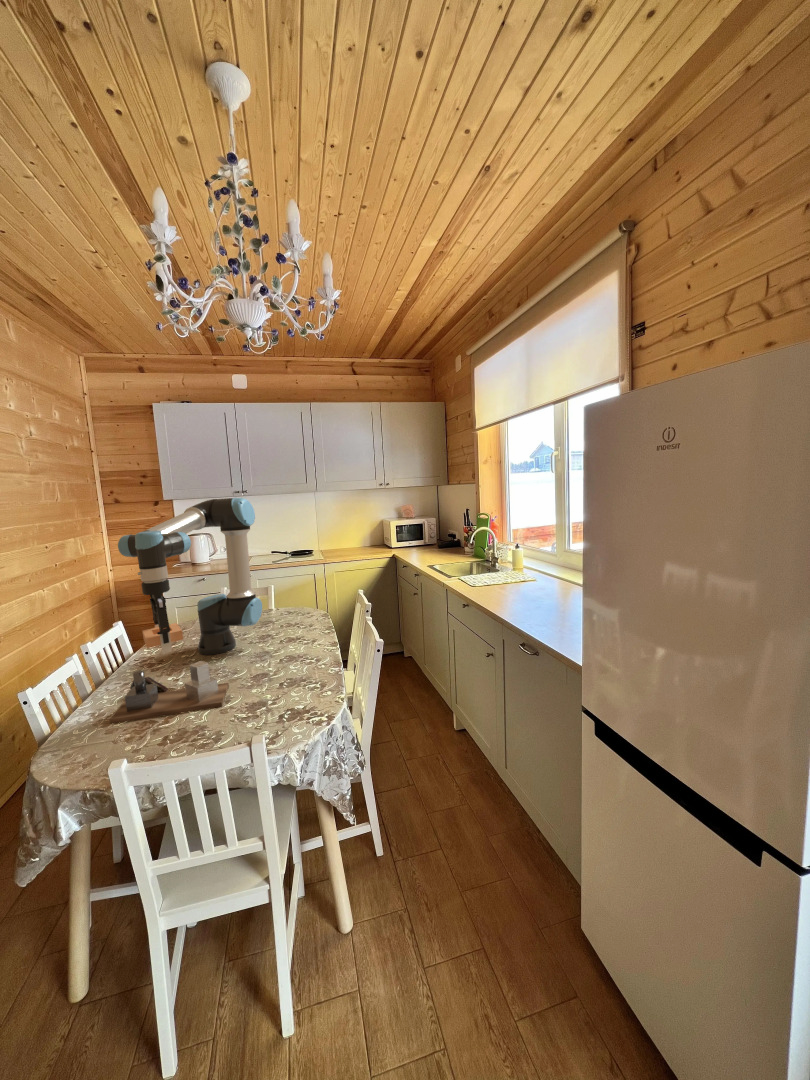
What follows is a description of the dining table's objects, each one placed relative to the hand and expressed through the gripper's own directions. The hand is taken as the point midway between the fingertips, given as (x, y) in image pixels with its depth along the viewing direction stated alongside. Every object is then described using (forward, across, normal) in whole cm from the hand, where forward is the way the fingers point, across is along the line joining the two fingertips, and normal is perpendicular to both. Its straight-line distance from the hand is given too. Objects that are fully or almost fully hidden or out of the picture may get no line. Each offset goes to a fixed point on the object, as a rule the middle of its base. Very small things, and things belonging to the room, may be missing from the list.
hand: (164, 647), depth 141 cm
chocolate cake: (+20, -14, -4) cm, 25 cm away
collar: (-3, 0, 0) cm, 3 cm away
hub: (+18, +4, +9) cm, 20 cm away
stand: (+18, -3, -8) cm, 20 cm away
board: (+20, 0, 0) cm, 20 cm away
